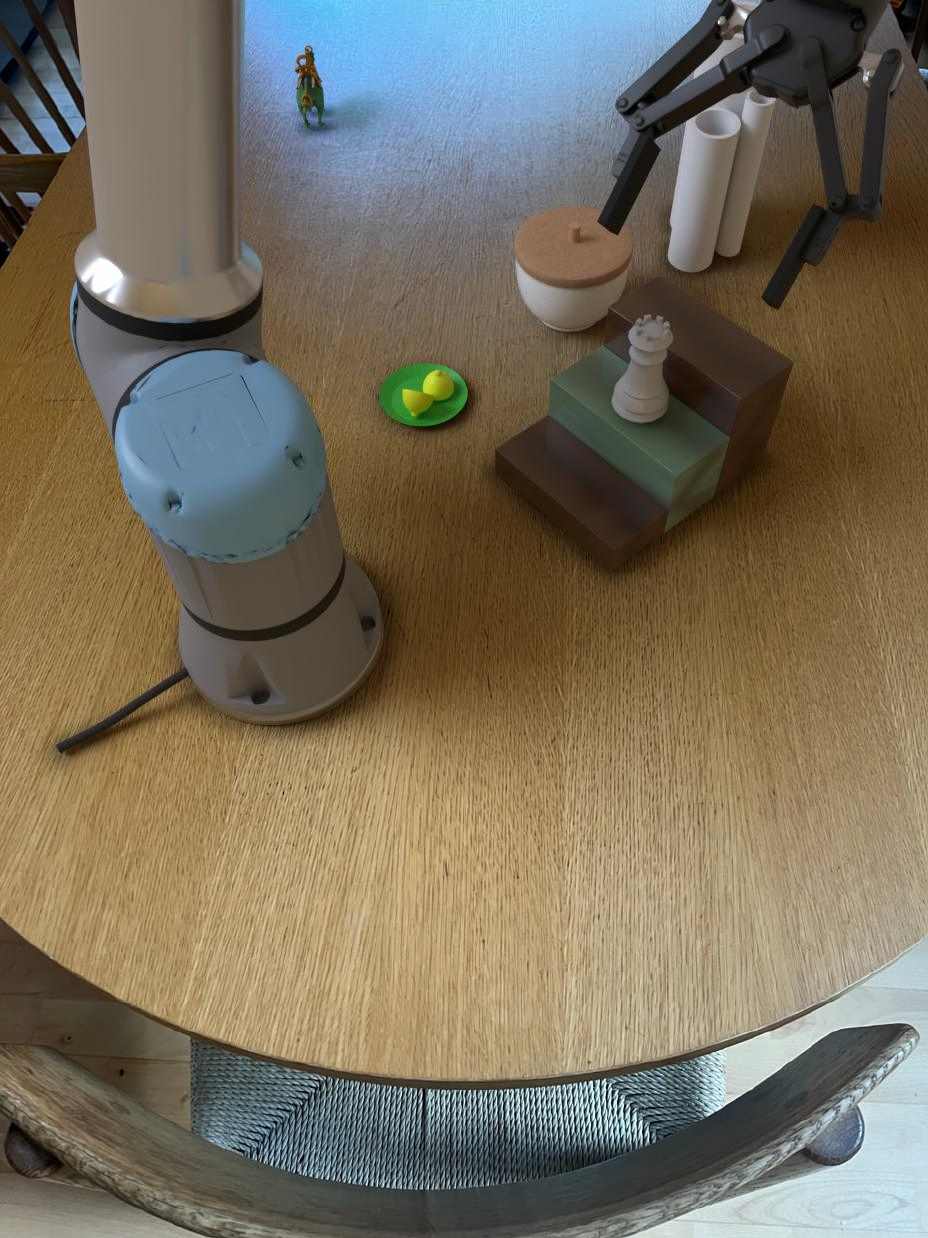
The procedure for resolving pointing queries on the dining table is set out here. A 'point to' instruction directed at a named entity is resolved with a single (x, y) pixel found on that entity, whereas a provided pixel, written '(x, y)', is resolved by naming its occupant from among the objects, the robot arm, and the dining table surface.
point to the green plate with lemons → (423, 394)
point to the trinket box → (571, 266)
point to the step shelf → (648, 428)
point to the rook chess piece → (644, 373)
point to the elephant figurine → (309, 87)
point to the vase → (718, 171)
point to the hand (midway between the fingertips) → (685, 265)
